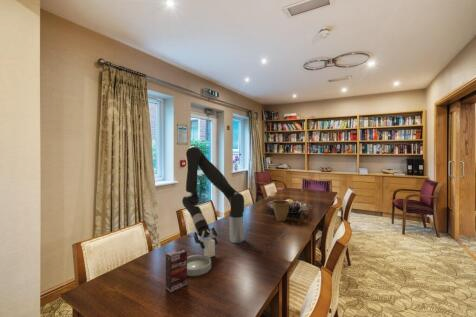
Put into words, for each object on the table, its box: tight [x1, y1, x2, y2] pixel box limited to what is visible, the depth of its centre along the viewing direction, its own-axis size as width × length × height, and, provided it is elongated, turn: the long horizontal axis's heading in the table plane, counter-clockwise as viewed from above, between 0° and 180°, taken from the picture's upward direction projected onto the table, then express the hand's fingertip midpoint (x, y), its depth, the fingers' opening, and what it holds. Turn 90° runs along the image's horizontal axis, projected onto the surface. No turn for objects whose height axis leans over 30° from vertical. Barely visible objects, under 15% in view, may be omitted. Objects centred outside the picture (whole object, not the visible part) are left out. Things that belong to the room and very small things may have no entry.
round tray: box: [187, 254, 212, 277], centre depth 120 cm, size 16×16×3 cm
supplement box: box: [165, 248, 188, 293], centre depth 103 cm, size 9×5×16 cm, turn 136°
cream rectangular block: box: [203, 237, 216, 258], centre depth 134 cm, size 5×5×9 cm
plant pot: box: [272, 199, 291, 222], centre depth 200 cm, size 15×15×16 cm
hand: (210, 246), depth 133 cm, fingers open, 8 cm apart
